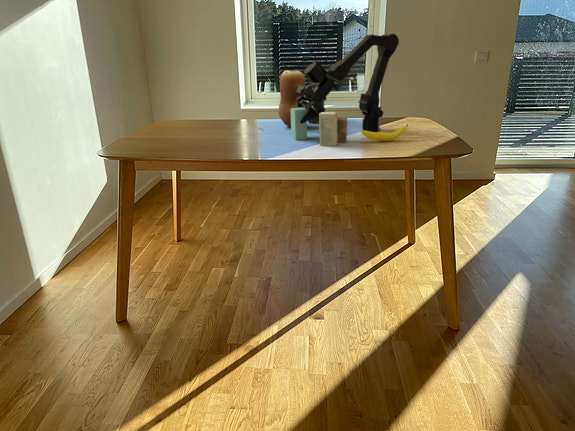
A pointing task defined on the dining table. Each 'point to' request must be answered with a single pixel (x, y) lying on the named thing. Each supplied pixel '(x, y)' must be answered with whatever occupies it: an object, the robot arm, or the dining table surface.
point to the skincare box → (328, 128)
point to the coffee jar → (316, 120)
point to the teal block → (298, 124)
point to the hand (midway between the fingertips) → (296, 121)
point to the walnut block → (341, 130)
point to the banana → (384, 135)
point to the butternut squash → (289, 93)
